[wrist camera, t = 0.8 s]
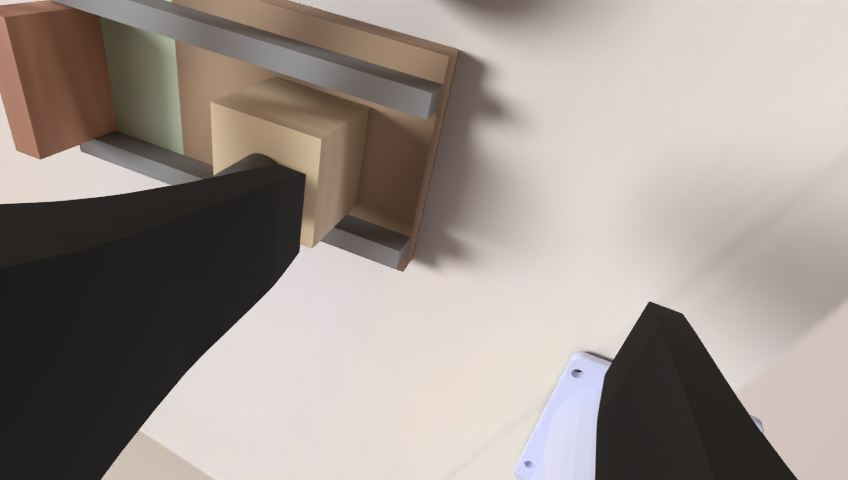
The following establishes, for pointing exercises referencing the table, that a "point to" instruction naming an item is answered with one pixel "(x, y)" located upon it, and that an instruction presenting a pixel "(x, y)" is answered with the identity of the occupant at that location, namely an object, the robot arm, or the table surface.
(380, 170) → the track
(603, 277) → the table surface
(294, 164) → the slider
